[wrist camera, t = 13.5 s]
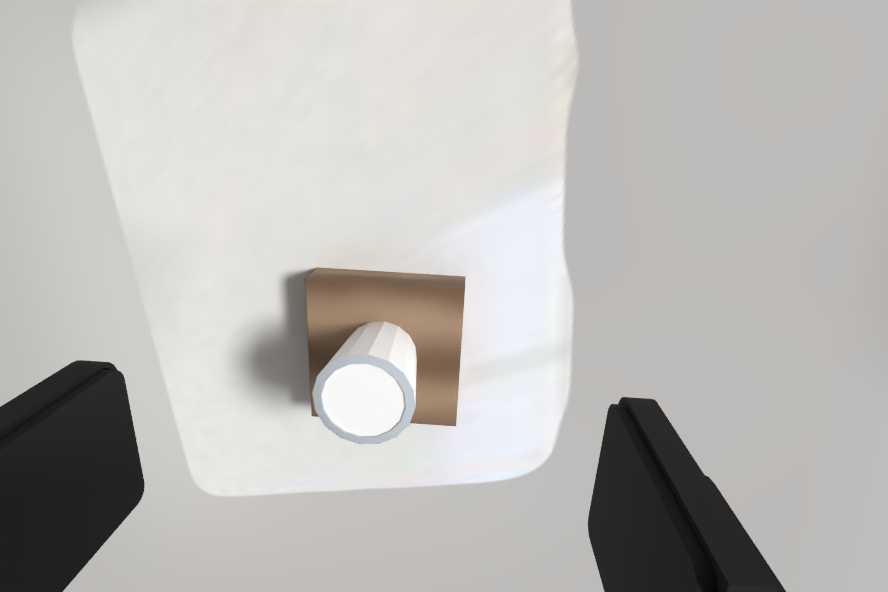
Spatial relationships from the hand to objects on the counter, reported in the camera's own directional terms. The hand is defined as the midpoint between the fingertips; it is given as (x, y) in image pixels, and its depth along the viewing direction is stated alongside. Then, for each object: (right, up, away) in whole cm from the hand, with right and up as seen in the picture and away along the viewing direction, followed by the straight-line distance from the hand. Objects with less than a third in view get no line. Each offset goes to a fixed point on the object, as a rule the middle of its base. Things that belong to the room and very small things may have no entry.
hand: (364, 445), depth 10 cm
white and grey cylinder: (-3, -2, +30) cm, 30 cm away
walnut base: (-3, -1, +33) cm, 33 cm away
